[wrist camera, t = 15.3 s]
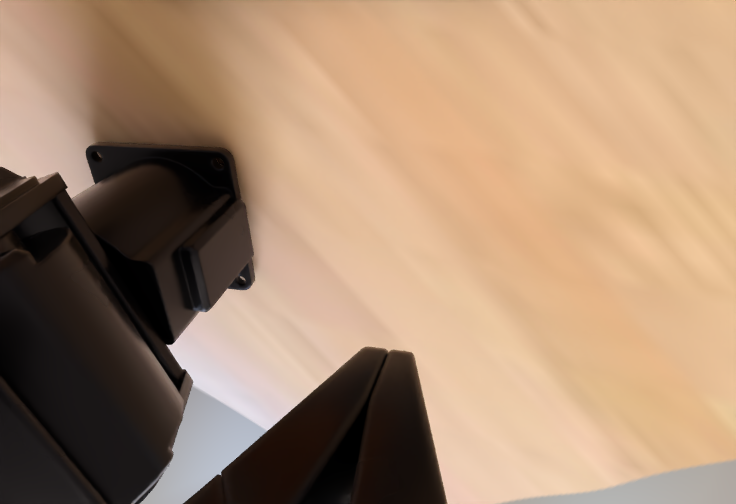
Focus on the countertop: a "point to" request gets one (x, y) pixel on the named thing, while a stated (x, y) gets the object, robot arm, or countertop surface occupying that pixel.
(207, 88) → the countertop surface
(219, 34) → the countertop surface
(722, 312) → the countertop surface
